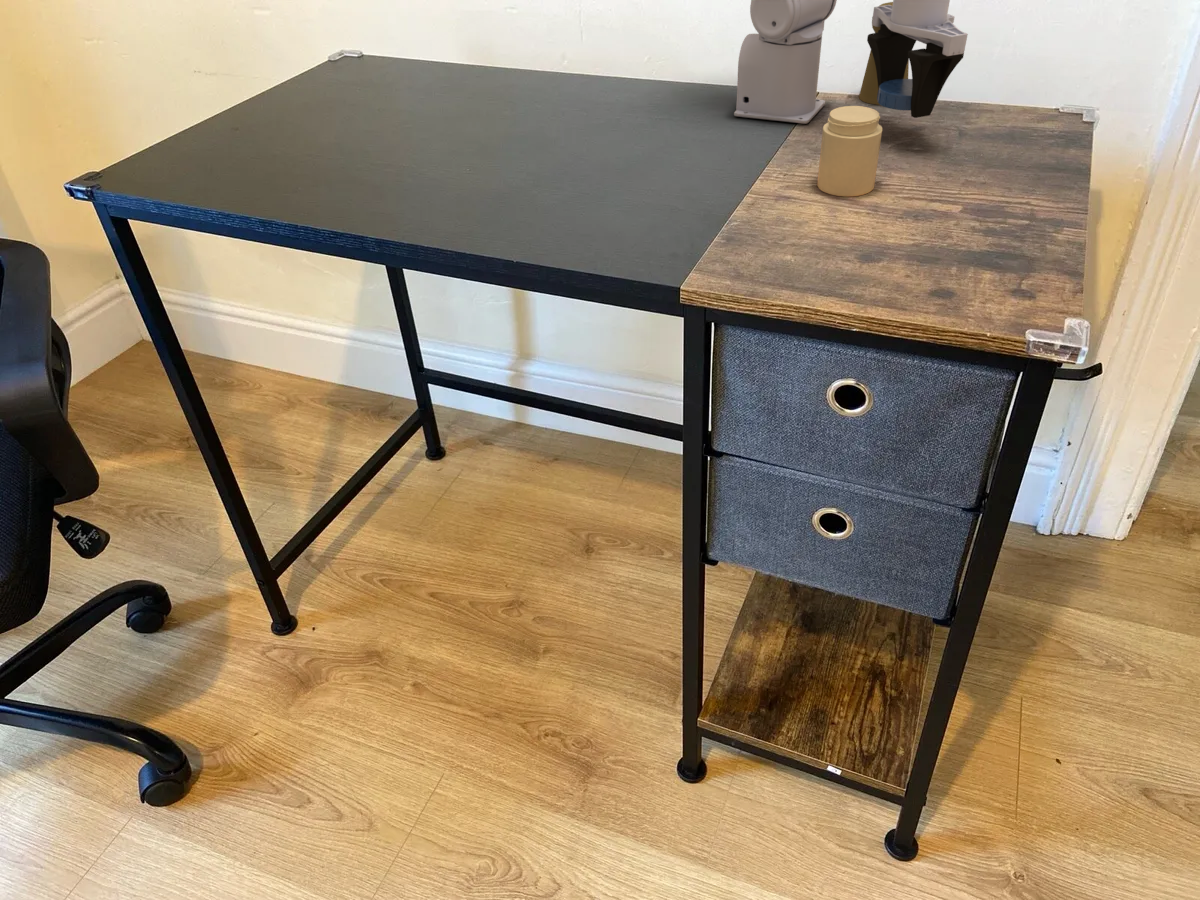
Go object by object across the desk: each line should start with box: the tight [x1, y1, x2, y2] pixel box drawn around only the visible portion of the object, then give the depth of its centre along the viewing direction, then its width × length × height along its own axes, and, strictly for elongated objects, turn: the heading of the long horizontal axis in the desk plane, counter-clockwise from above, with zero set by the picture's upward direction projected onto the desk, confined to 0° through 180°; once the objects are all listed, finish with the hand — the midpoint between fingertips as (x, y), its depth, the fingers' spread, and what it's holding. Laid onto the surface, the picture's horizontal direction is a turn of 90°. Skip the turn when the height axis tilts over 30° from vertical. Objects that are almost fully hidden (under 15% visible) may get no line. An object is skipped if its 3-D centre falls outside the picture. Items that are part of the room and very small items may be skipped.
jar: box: [816, 105, 883, 197], centre depth 89 cm, size 6×6×7 cm
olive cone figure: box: [858, 1, 910, 106], centre depth 109 cm, size 6×6×11 cm
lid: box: [877, 78, 912, 111], centre depth 99 cm, size 6×6×2 cm
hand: (904, 107), depth 100 cm, fingers closed on lid, 6 cm apart
